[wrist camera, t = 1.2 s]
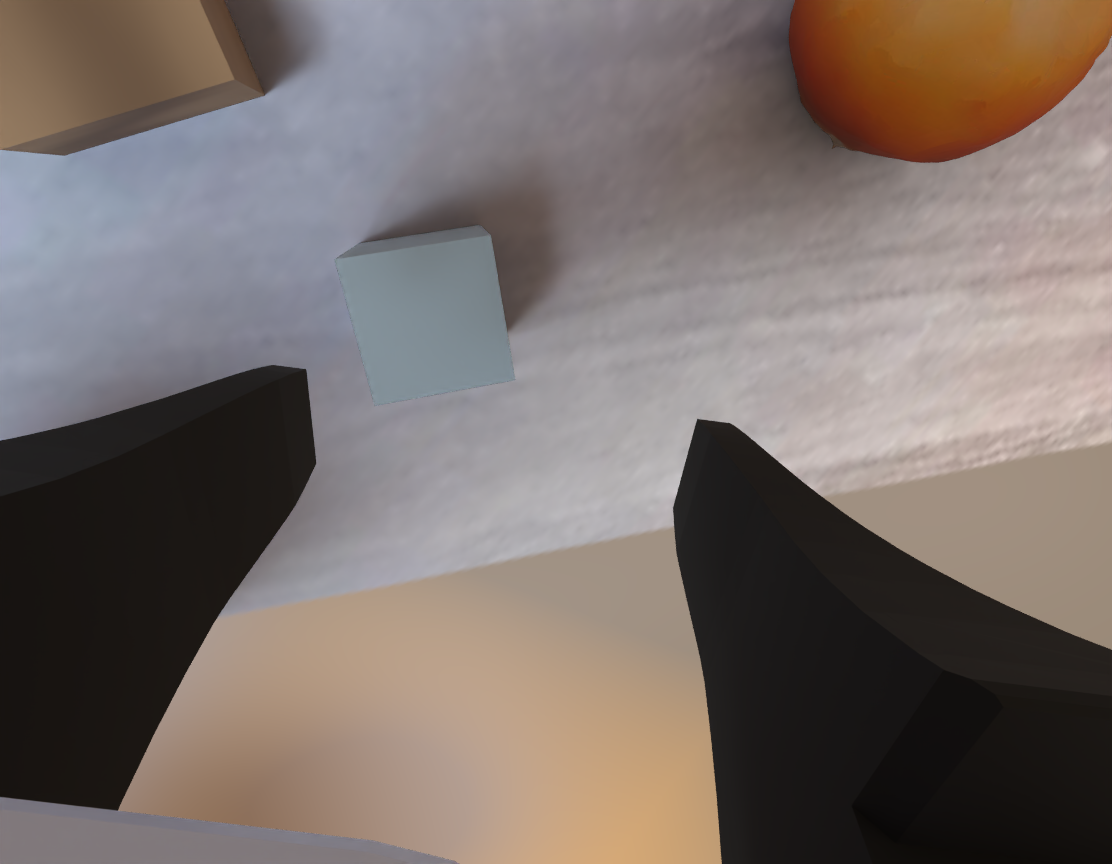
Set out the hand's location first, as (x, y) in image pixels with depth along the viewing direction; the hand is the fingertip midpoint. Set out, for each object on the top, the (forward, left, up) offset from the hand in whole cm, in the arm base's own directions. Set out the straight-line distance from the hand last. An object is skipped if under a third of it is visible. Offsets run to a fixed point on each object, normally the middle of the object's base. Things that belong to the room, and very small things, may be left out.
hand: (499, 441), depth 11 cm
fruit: (+15, +7, -11) cm, 20 cm away
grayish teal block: (-1, +1, -11) cm, 11 cm away
